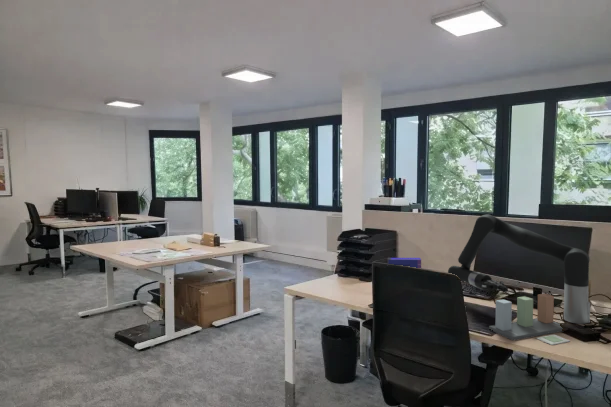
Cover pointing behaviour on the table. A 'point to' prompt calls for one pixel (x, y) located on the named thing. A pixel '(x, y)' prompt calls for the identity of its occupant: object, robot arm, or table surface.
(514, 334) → the board
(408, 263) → the cereal box
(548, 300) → the terracotta block
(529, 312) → the sage block
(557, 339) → the card
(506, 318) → the greyblue block
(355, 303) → the table surface
